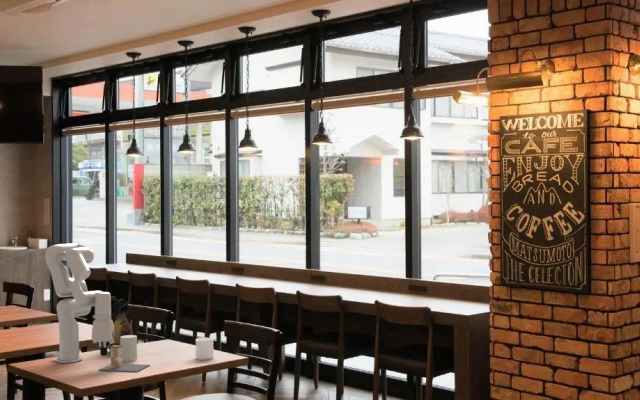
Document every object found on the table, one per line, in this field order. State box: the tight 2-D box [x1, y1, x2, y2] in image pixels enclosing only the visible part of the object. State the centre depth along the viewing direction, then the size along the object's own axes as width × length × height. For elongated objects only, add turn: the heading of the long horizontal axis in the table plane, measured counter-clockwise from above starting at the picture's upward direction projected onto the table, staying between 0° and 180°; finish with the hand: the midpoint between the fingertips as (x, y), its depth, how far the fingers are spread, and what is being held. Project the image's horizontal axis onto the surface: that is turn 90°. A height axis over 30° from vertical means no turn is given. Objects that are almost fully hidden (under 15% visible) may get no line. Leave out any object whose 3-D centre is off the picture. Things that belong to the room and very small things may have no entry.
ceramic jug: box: [107, 296, 134, 353], centre depth 423 cm, size 17×15×30 cm
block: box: [110, 345, 123, 368], centre depth 382 cm, size 4×4×10 cm
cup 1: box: [120, 334, 138, 363], centre depth 401 cm, size 8×8×12 cm
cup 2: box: [195, 337, 215, 361], centre depth 403 cm, size 10×10×10 cm
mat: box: [98, 363, 151, 373], centre depth 381 cm, size 20×14×1 cm
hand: (103, 355), depth 384 cm, fingers closed
